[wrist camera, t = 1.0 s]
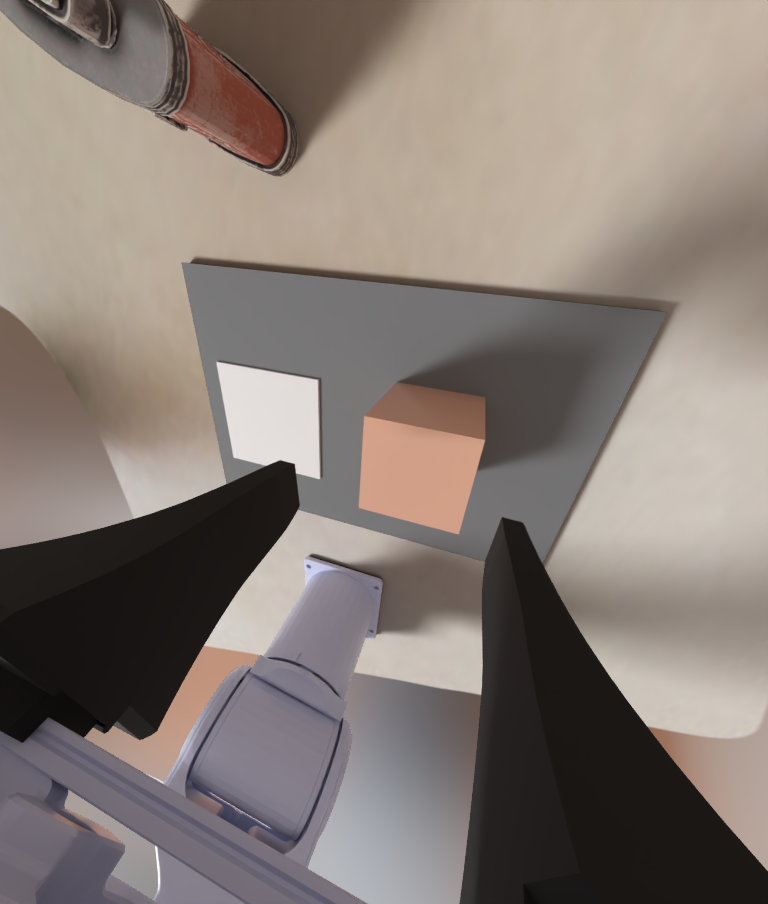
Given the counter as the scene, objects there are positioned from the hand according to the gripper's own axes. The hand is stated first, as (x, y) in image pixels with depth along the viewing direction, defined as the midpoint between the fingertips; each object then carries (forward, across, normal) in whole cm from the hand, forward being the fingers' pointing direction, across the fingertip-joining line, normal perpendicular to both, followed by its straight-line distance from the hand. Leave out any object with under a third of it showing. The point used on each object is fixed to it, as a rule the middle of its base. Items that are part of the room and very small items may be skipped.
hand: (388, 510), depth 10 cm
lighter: (+12, +13, -13) cm, 22 cm away
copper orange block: (+10, 0, +2) cm, 10 cm away
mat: (+11, +4, +3) cm, 12 cm away
